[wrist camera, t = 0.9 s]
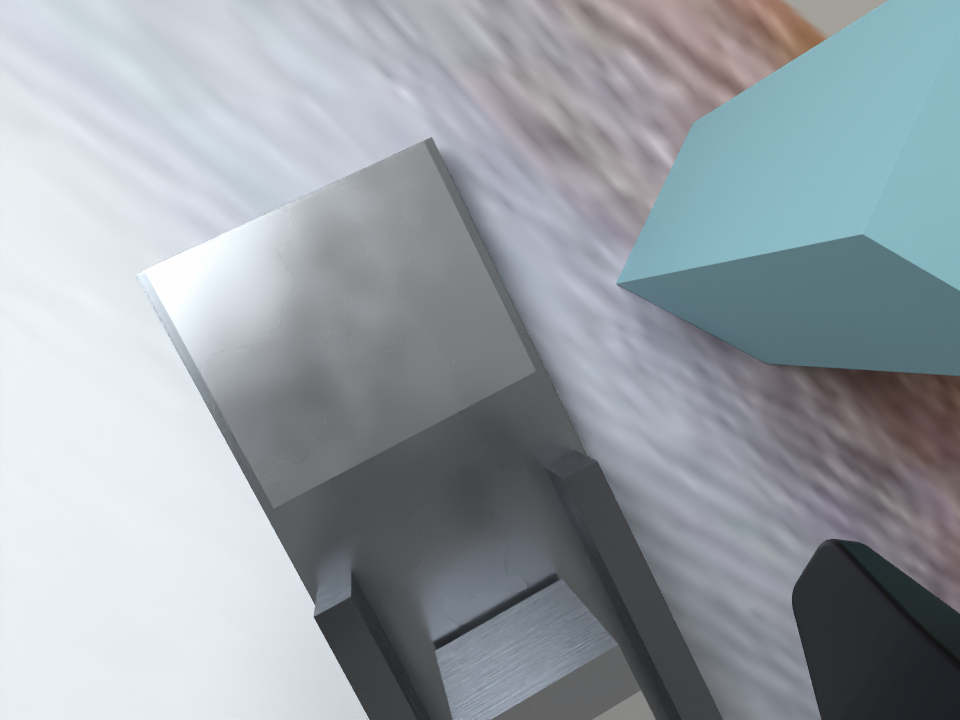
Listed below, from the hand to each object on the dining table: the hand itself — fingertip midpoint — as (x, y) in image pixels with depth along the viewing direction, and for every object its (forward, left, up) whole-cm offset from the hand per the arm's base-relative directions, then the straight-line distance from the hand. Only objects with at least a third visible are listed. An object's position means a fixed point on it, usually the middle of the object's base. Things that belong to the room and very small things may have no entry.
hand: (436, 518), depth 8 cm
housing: (-1, -12, -14) cm, 18 cm away
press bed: (-5, 0, -14) cm, 15 cm away
